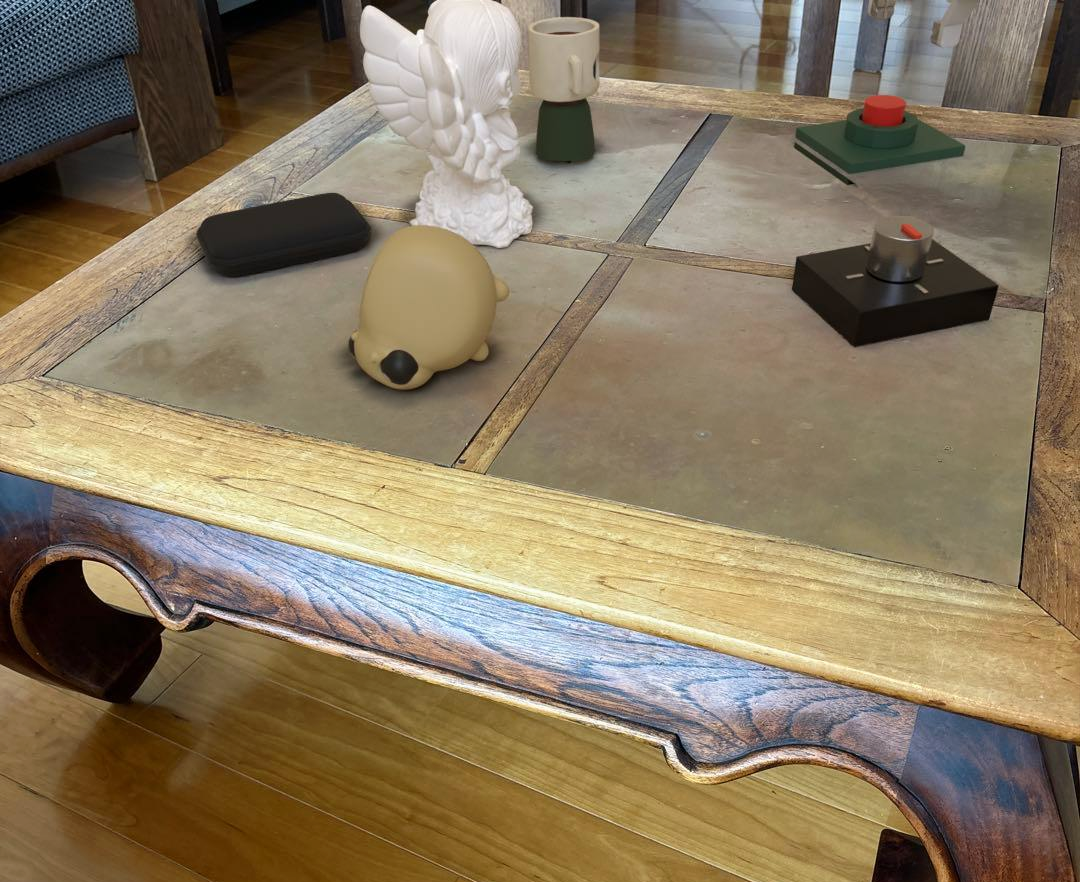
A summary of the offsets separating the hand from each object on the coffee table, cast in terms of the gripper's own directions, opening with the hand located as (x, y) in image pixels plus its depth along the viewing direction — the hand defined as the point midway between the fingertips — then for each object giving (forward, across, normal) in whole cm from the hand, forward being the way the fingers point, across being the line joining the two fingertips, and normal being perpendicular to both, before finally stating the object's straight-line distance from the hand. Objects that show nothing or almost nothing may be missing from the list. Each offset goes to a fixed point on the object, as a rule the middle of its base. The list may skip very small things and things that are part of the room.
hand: (910, 30), depth 88 cm
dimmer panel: (+15, -18, +10) cm, 26 cm away
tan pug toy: (+15, -13, +47) cm, 52 cm away
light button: (+12, +10, -6) cm, 16 cm away
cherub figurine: (+15, +9, +38) cm, 42 cm away
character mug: (+15, +22, +24) cm, 36 cm away
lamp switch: (+15, +10, -6) cm, 19 cm away
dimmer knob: (+12, -18, +10) cm, 24 cm away
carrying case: (+15, +12, +55) cm, 58 cm away
